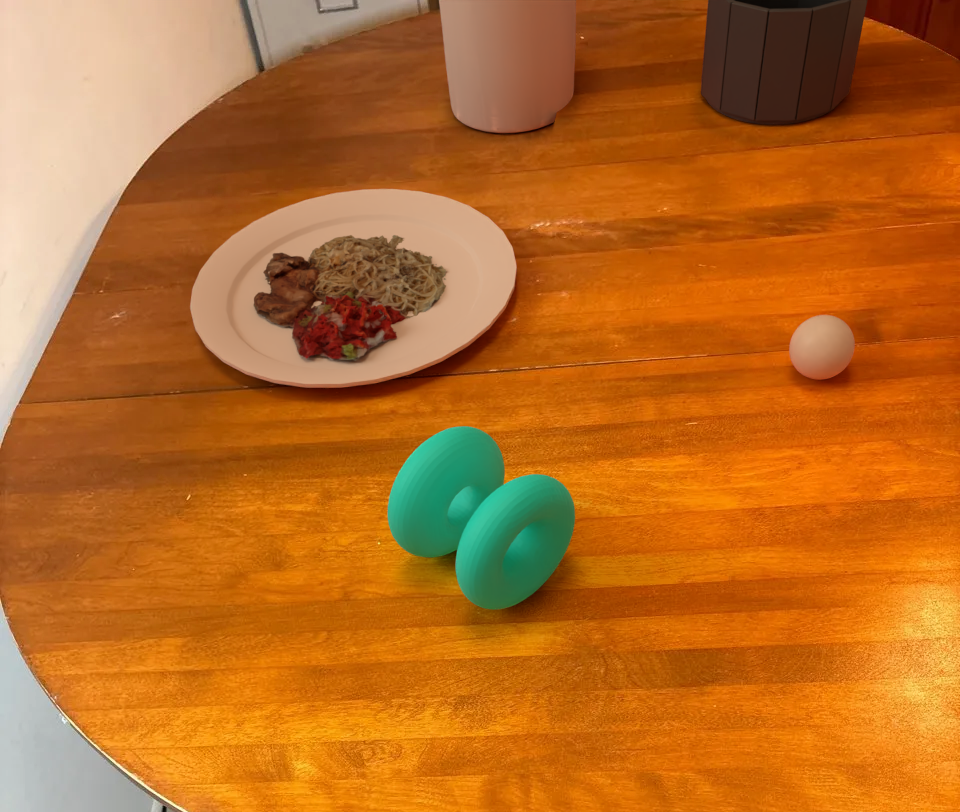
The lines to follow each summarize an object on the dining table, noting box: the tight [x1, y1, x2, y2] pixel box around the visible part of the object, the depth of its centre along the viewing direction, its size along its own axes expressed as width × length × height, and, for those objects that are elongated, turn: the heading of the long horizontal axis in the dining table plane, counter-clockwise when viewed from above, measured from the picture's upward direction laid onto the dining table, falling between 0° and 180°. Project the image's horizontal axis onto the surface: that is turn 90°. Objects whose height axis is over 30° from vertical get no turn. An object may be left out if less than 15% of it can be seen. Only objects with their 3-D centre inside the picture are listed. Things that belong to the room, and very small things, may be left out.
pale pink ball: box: [788, 314, 856, 381], centre depth 85 cm, size 5×5×5 cm
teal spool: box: [387, 425, 576, 611], centre depth 73 cm, size 10×10×10 cm
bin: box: [700, 0, 868, 126], centre depth 107 cm, size 15×15×14 cm
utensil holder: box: [438, 0, 577, 134], centre depth 111 cm, size 15×15×18 cm
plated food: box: [189, 188, 518, 389], centre depth 97 cm, size 30×30×3 cm
